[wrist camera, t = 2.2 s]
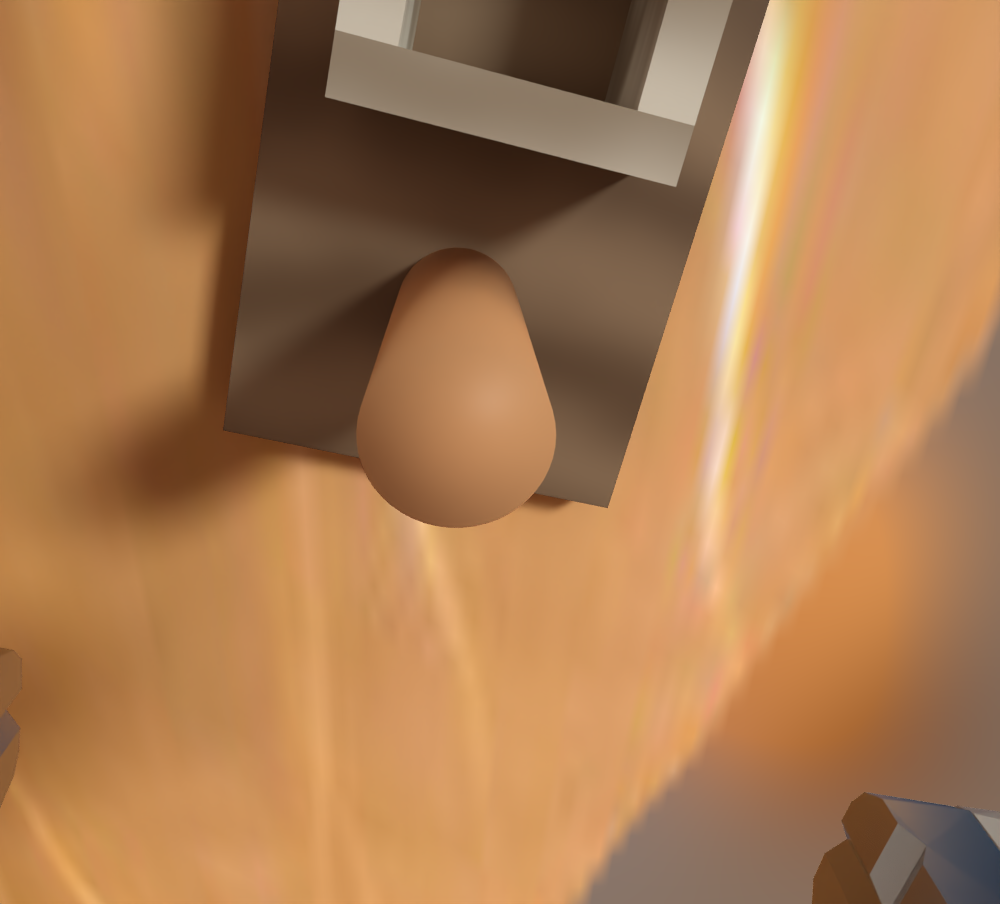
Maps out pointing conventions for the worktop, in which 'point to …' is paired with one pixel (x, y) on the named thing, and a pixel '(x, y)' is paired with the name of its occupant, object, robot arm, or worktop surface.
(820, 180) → the worktop surface
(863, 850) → the robot arm
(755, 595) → the worktop surface
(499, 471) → the peg
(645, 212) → the well board
